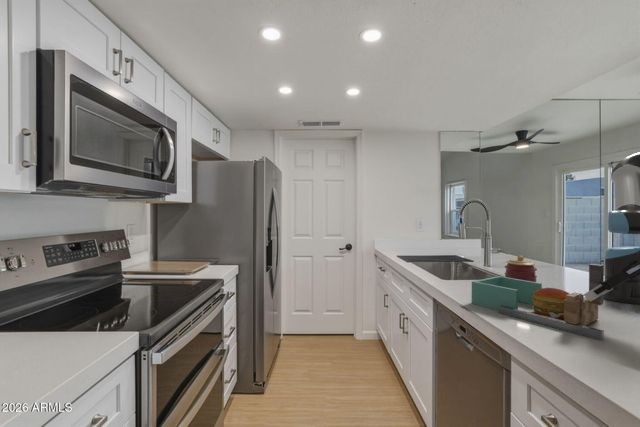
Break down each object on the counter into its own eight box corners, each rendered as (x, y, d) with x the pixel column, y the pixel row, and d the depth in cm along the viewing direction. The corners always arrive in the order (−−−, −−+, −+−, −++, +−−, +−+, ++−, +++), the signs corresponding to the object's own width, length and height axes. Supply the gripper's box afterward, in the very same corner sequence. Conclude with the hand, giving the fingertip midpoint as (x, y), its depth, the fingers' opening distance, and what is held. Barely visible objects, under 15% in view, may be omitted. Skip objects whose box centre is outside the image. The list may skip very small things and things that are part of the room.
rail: (501, 312, 116) (501, 305, 116) (603, 338, 92) (603, 330, 92) (498, 312, 115) (498, 306, 115) (601, 340, 91) (601, 331, 91)
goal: (498, 295, 140) (498, 276, 140) (541, 305, 126) (541, 283, 126) (471, 303, 128) (471, 281, 128) (515, 314, 114) (516, 290, 114)
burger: (532, 307, 122) (532, 282, 122) (576, 314, 114) (576, 288, 114) (530, 316, 112) (530, 289, 112) (578, 325, 104) (579, 295, 103)
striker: (588, 316, 111) (589, 261, 111) (609, 321, 106) (609, 263, 106) (563, 329, 98) (564, 267, 98) (585, 335, 93) (586, 269, 93)
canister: (500, 288, 154) (500, 253, 154) (529, 290, 151) (529, 254, 151) (510, 295, 141) (510, 256, 141) (542, 297, 138) (542, 257, 138)
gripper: (669, 266, 84) (590, 311, 98) (680, 262, 93) (606, 303, 107) (642, 245, 88) (570, 290, 102) (654, 243, 97) (587, 284, 111)
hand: (589, 297), depth 105 cm, fingers closed on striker, 3 cm apart
